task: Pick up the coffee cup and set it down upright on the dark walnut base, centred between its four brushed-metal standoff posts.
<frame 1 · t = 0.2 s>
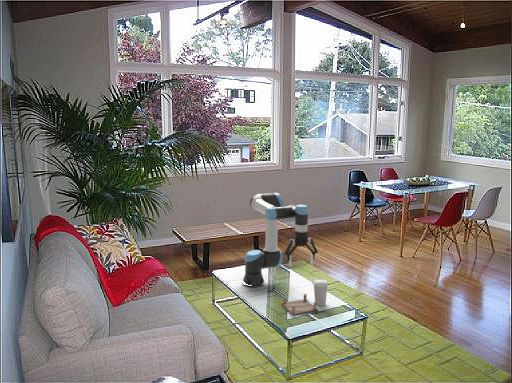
hand: (300, 265, 257), 28 cm above the table, fingers open, 13 cm apart
standoff base: (299, 308, 262), on the table
coffee cup: (320, 304, 268), on the table
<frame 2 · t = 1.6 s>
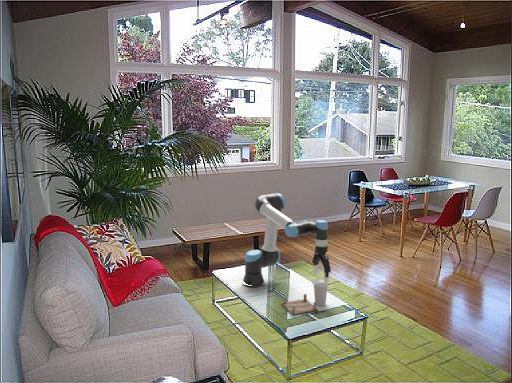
hand: (321, 278, 265), 17 cm above the table, fingers open, 13 cm apart
nothing on the table moved.
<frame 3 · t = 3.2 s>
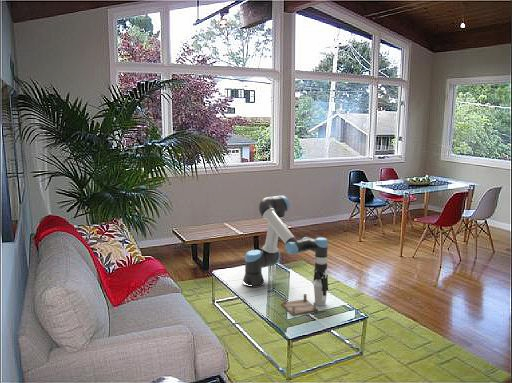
hand: (320, 297, 267), 4 cm above the table, fingers closed on coffee cup, 8 cm apart
coffee cup: (320, 304, 268), on the table, touching gripper
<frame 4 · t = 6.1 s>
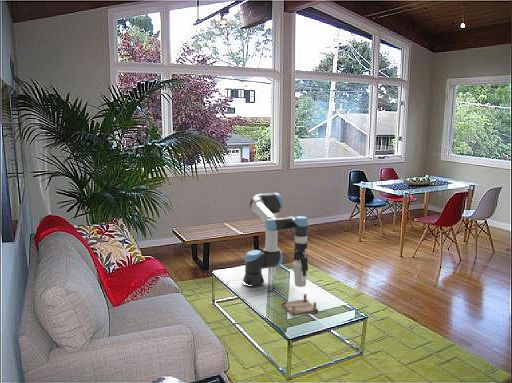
hand: (300, 278, 259), 19 cm above the table, fingers closed on coffee cup, 8 cm apart
coffee cup: (300, 285, 260), point 15 cm above the table, touching gripper
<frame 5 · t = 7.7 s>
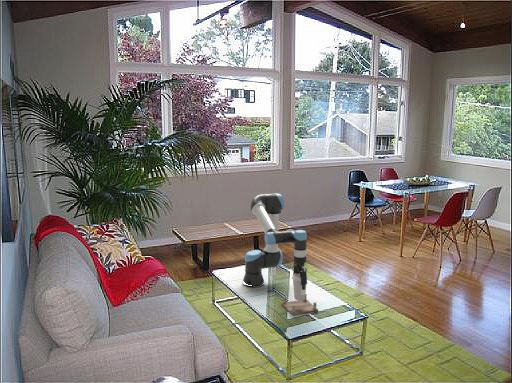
hand: (299, 291, 260), 11 cm above the table, fingers closed on coffee cup, 8 cm apart
coffee cup: (299, 298, 261), point 6 cm above the table, touching gripper
when the fingers open (7 cm above the table, at t = 8.9 s): coffee cup drops 1 cm, resting on standoff base.
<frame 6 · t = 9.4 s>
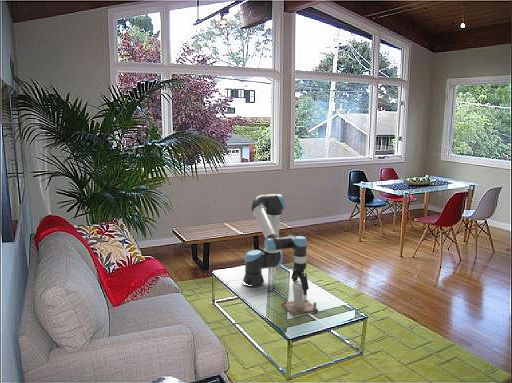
hand: (299, 295, 261), 8 cm above the table, fingers open, 13 cm apart
coffee cup: (299, 306, 262), point 1 cm above the table, touching standoff base
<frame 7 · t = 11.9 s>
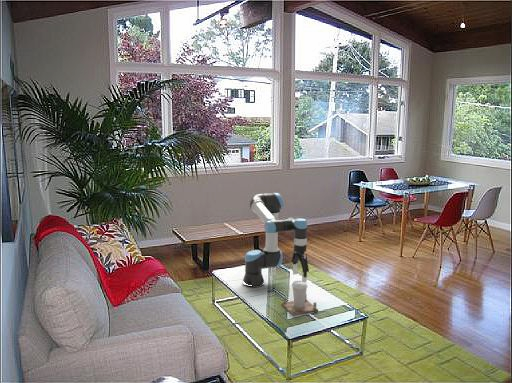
hand: (299, 278, 259), 19 cm above the table, fingers open, 13 cm apart
nothing on the table moved.
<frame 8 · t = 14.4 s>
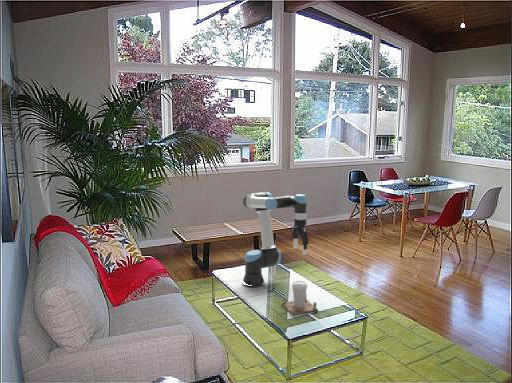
hand: (299, 251, 272), 32 cm above the table, fingers open, 13 cm apart
nothing on the table moved.
at the end: coffee cup 0.1 cm off-centre on the standoff base, point 1.0 cm above the standoff base's base; coffee cup tilted 0°; the gripper is holding nothing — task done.
